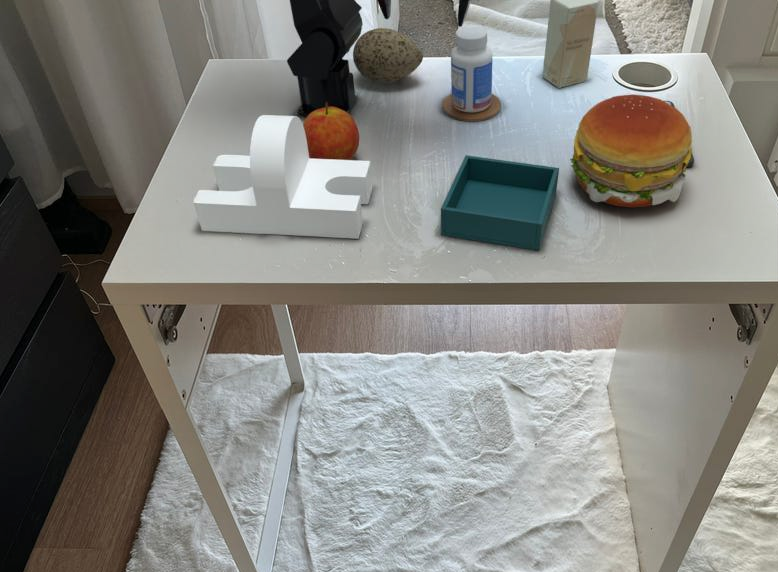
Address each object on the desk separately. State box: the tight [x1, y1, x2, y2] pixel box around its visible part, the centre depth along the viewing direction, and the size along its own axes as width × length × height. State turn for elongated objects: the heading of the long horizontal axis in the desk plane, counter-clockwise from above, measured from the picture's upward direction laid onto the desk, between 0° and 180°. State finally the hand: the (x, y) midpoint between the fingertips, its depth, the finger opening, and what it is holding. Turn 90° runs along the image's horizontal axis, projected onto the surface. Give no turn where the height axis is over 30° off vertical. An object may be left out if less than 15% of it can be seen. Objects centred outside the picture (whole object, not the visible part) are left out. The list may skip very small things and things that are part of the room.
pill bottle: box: [450, 25, 493, 113], centre depth 101 cm, size 6×5×10 cm
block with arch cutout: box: [192, 114, 373, 240], centre depth 85 cm, size 18×10×11 cm, turn 84°
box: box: [542, 0, 599, 89], centre depth 105 cm, size 5×4×11 cm
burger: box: [569, 93, 693, 208], centre depth 87 cm, size 13×14×10 cm
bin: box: [440, 154, 560, 251], centre depth 86 cm, size 11×11×4 cm
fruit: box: [302, 102, 360, 160], centre depth 92 cm, size 7×7×8 cm
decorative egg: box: [352, 27, 424, 84], centre depth 107 cm, size 7×7×10 cm
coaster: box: [441, 93, 502, 122], centre depth 104 cm, size 8×8×1 cm
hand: (423, 21), depth 93 cm, fingers open, 9 cm apart
